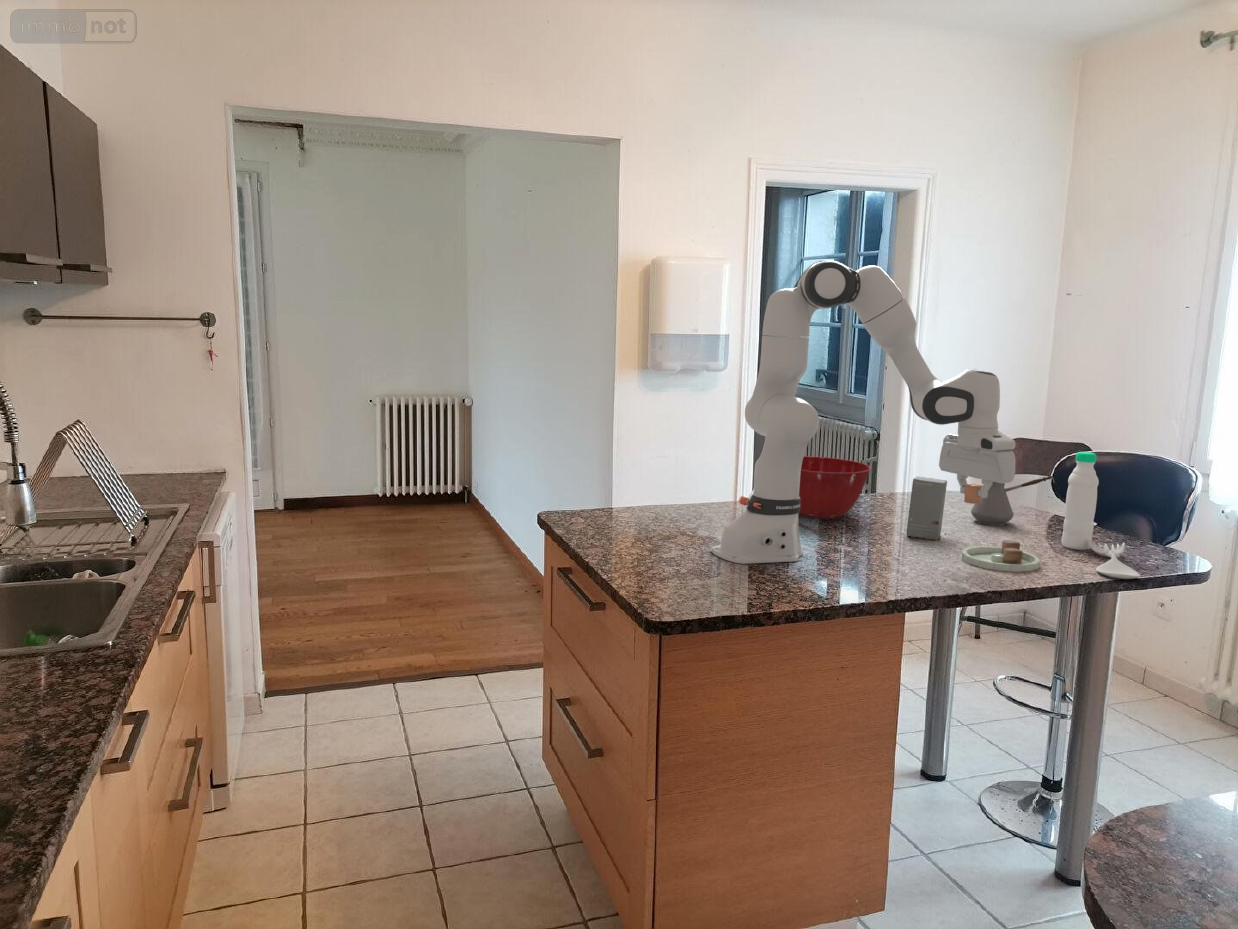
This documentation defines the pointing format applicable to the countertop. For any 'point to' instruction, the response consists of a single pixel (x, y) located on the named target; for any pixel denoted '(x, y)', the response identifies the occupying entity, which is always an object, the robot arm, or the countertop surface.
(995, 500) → the coffee pot
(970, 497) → the loose bead
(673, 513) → the countertop surface
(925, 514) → the skincare box
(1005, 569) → the groove tray
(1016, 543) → the seated bead
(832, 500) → the mixing bowl
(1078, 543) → the milk bottle
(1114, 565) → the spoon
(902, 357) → the robot arm
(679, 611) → the countertop surface
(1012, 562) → the seated bead
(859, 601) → the countertop surface
